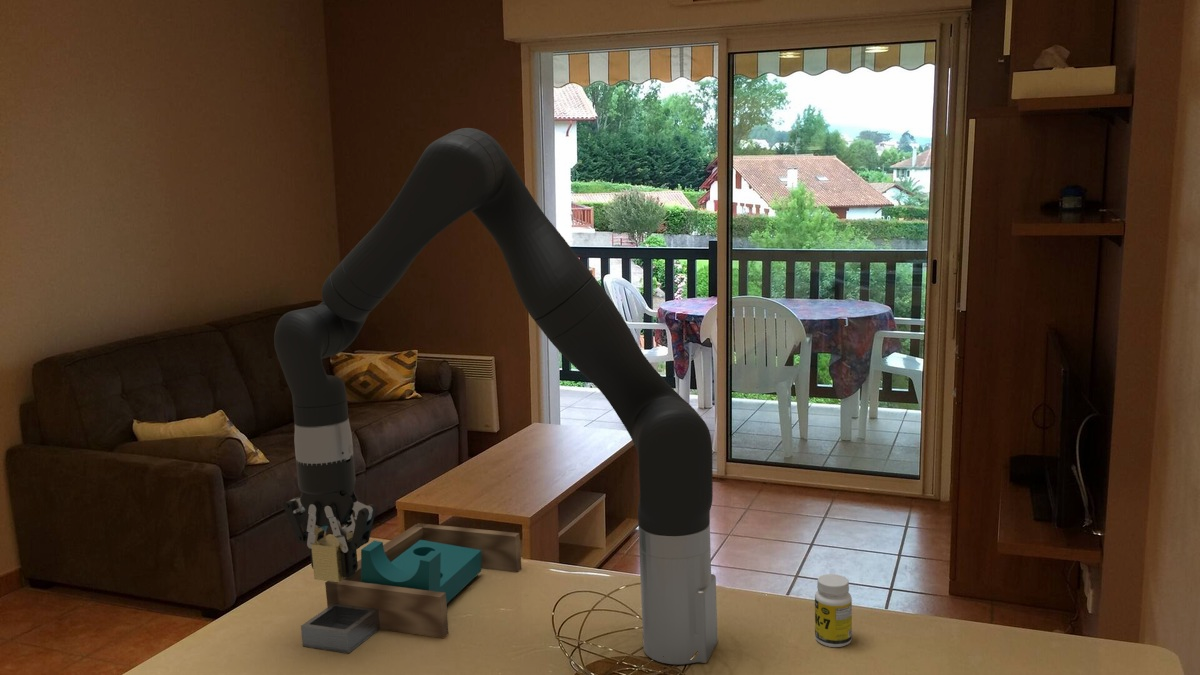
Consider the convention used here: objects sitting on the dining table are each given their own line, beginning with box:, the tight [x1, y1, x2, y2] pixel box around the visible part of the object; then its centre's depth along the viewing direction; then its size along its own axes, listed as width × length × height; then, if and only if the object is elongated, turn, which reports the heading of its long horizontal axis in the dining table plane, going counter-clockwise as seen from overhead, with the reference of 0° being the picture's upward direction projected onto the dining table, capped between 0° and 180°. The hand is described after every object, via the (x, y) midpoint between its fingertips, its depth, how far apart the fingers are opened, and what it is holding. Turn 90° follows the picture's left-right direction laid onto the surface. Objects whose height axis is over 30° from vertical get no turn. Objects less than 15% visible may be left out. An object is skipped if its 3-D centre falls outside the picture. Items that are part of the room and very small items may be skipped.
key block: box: [311, 533, 348, 582], centre depth 133 cm, size 4×4×5 cm
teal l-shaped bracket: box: [360, 540, 482, 604], centre depth 146 cm, size 18×11×10 cm, turn 163°
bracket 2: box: [324, 522, 522, 639], centre depth 147 cm, size 19×25×6 cm
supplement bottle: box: [814, 573, 853, 648], centre depth 127 cm, size 5×5×8 cm
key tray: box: [300, 603, 381, 654], centre depth 134 cm, size 8×8×3 cm
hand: (335, 573), depth 133 cm, fingers closed on key block, 4 cm apart
